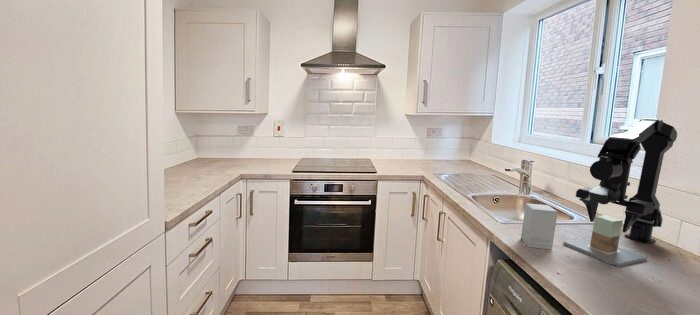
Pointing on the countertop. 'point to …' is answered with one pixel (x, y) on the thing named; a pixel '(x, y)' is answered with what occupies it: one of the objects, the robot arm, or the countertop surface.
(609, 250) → the walnut block
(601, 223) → the sage block
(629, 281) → the countertop surface
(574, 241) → the plate
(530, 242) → the supplement box
